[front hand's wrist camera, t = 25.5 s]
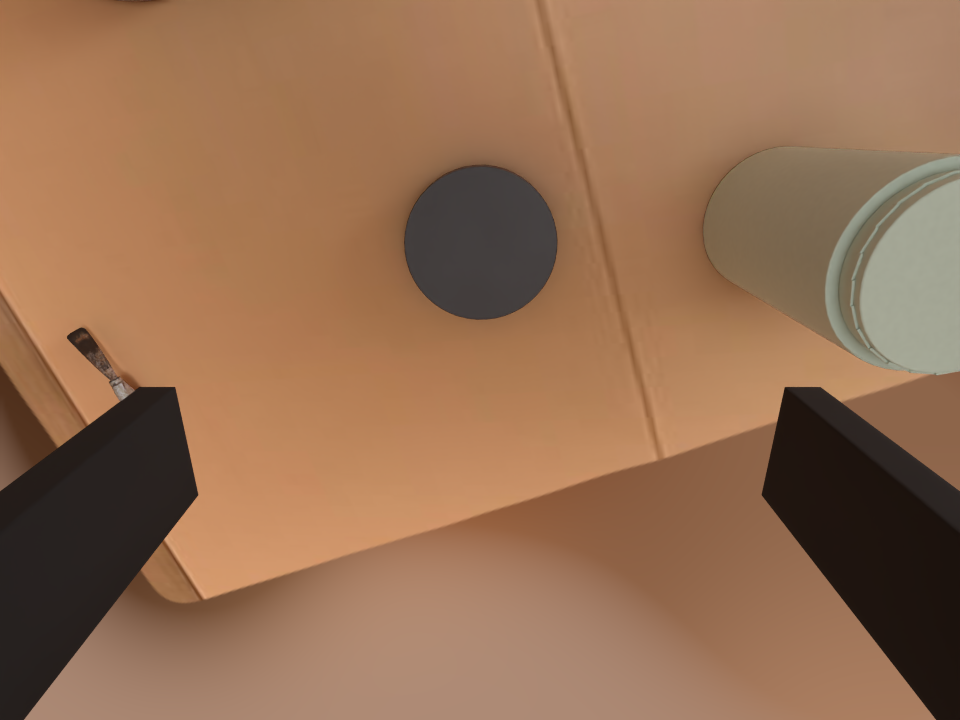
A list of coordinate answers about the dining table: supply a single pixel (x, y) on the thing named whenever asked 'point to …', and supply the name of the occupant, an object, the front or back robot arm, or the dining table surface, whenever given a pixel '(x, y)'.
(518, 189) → the lid
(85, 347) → the putty knife
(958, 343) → the jar
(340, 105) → the dining table surface
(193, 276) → the dining table surface
